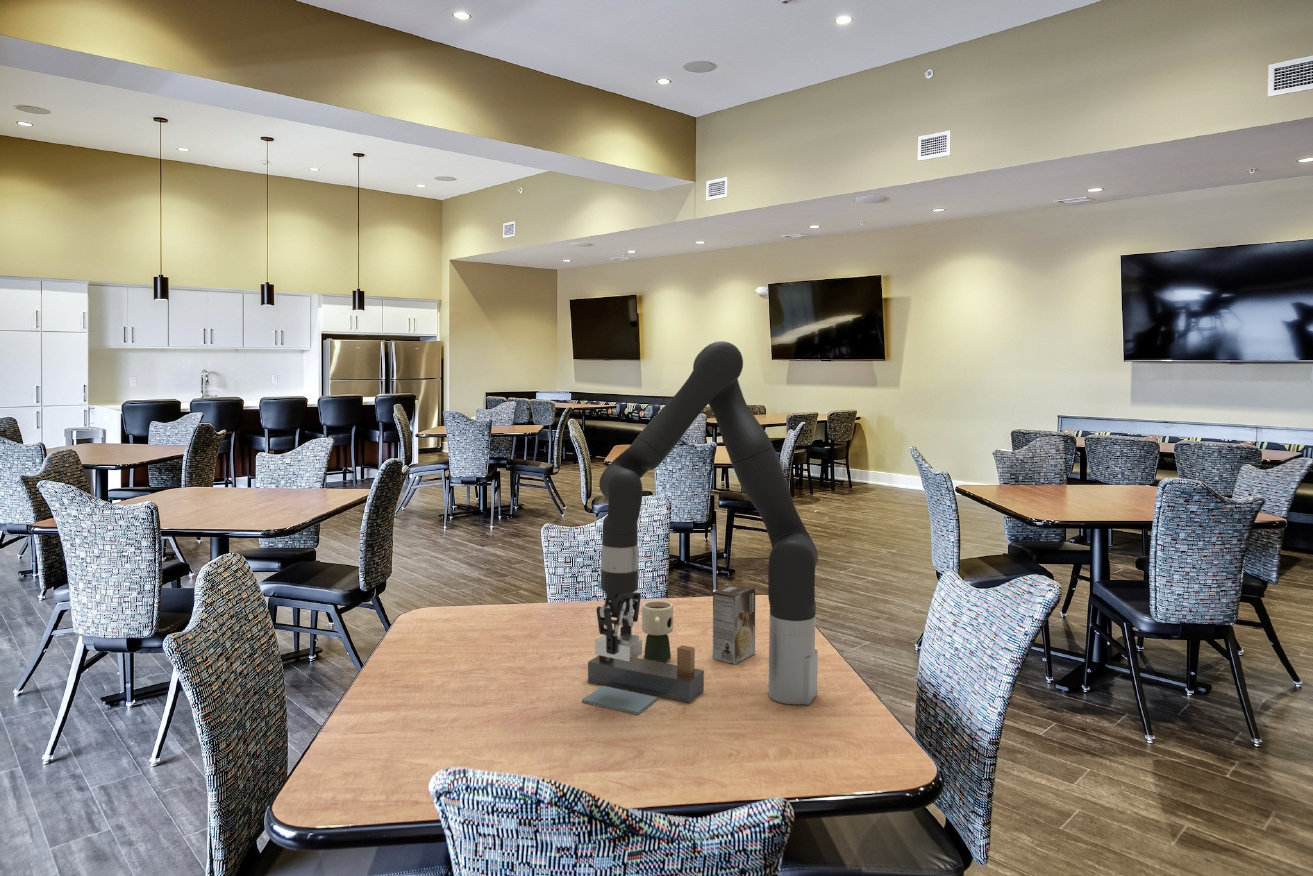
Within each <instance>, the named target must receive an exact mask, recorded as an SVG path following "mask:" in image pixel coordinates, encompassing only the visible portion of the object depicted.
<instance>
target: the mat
mask: <svg viewBox="0 0 1313 876" xmlns="http://www.w3.org/2000/svg"><path fill="white" fill-rule="evenodd" d="M657 701H658V697H656V696H651V695H646V694H642V693H637V692H632V691H627V690H623V689H618V688H613V687H608V686H604V685H600V687H598V688H597V689H595V690H594V691H592V692H591V693H589V694H587V695H586V696H585V697H583V698H582V699H581V703H582V702H585V703H584V704H587V703H591V704H595V705H594V706H596V705H599V706H598V707H600V706H602V707H601V708H605V709H606V708H607V709H609V710H615V711H618V712H619V711H620V712H623V713H628V714H632V715H636V716H639V715H641V714H642V713H643V712H645V711H646V710H648V708H649V707H651V706H652V705H653V704H655V703H656V702H657ZM591 704H590V705H591Z"/></svg>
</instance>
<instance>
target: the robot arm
mask: <svg viewBox="0 0 1313 876" xmlns="http://www.w3.org/2000/svg"><path fill="white" fill-rule="evenodd" d="M743 367H744V359H743V356H742V353H741V351H740V349H739V348H738V346H736V345H735V344H734V343H731V342H729V341H714V342H712V343H710V344H708V345H706V346H705V347H704V348H703V349H702V350H700V352H698V354H697V355H696V356H695V359H694V361H693V365H692V372H691V373H690V374H689V376H688V378H687V379H686V381H685V382H684V383H683V385H681V387H680V388H679V390H678V391H677V393H676V394H675V395H674V396H672V398H671V399H670V400H669V401H668V402H667V403H666V404H665V405H664V406H663V407H662V408H661V409H660V410H659V411H658V412H657V413H656V414H655V416H654V417H653V418H652V419H651V420H650V421H649V422H647V423H648V424H647V425H645V427H644V428H643V429H642V431H641V432H640V433H639V434H638V435H637V437H636V438H635V439H634V440H633V442H632V443H631V445H630V446H629V447H627V448H626V449H625V450H624V451H623V452H621V453H620V454H619V455H618V456H616V458H615V459H613V460H612V461H611V462H610V463H609V464H608V466H606V468H605V469H604V470H603V472H602V473H601V475H600V478H599V486H598V487H599V490H600V492H601V494H602V495H603V496H604V497H605V498H606V499H608V503H607V504H608V505H607V515H606V516H605V517H604V518H603V521H602V538H601V539H602V541H601V542H602V545H601V546H602V547H601V551H600V552H601V553H600V589H601V590H602V591H603V592H604V593H605V599H604V605H602V606H599V605H598V606H597V607H596V610H595V611H596V617H597V624H598V632H599V634H600V635H602V636H603V635H606V652H607V653H608V654H613V655H615V654H616V653H617V644H618V636H617V635H624V634H626V633H627V634H632V628H633V627H634V625H635V623H638V621H639V614H640V604H641V599H642V598H641V597H642V594H641V592H637V591H638V588H639V566H640V565H639V563H640V562H639V561H640V560H639V558H640V557H639V555H640V554H639V545H638V532H639V531H638V530H639V529H638V521H639V518H640V513H641V507H642V502H643V494H644V493H643V490H644V489H643V485H642V484H643V483H642V480H641V478H642V477H644V475H645V474H646V473H647V472H648V471H652V470H655V469H656V468H658V467H659V466H660V465H662V462H664V460H665V459H666V457H668V455H669V454H670V453H671V451H672V450H673V449H674V448H675V447H676V445H677V444H678V443H679V441H680V440H681V439H682V438H683V436H684V435H685V434H686V432H687V431H688V429H689V428H690V427H691V426H692V424H693V423H694V422H695V420H696V419H697V418H698V417H699V415H700V414H701V413H702V412H703V410H705V408H706V407H707V406H709V408H710V410H711V412H712V414H713V416H714V418H715V420H716V423H717V425H718V430H719V432H720V436H721V438H722V442H723V444H724V447H725V450H726V452H727V454H728V458H729V460H730V463H731V465H732V468H733V471H734V473H735V475H736V478H737V481H738V482H739V485H740V486H741V488H742V489H743V491H744V493H745V495H746V497H748V500H749V501H750V502H751V504H752V505H753V507H754V508H755V509H756V512H758V514H759V516H760V518H761V519H762V521H763V524H764V526H765V529H766V532H767V535H768V539H769V543H770V545H771V548H772V549H771V551H770V553H769V556H768V565H767V567H768V568H767V570H768V573H767V576H768V579H767V580H768V582H767V584H768V585H767V586H768V587H767V589H768V591H767V596H768V603H769V633H768V634H769V636H768V637H769V638H768V640H769V641H768V642H769V645H768V696H769V698H770V699H771V700H774V701H775V702H778V703H779V704H785V705H807V706H809V705H810V704H811V703H812V702H813V700H814V698H816V697H817V695H818V661H819V660H818V659H819V652H818V649H816V612H817V611H816V609H817V603H816V596H815V595H816V593H815V591H816V589H815V588H816V587H815V586H816V566H817V563H818V558H819V556H818V551H817V547H816V545H815V543H814V541H813V540H812V539H813V538H812V537H811V535H810V534H809V532H808V530H807V528H806V527H805V525H804V523H803V520H802V519H801V516H800V515H799V513H798V511H797V508H796V507H795V504H794V503H795V502H794V500H793V497H792V495H791V491H790V487H789V485H788V481H787V479H786V476H785V474H784V471H783V468H782V465H781V462H780V459H779V457H778V455H777V452H776V449H775V447H774V446H773V443H772V441H771V439H770V437H769V435H768V433H767V432H766V430H765V429H764V428H763V426H762V424H761V423H760V422H759V420H758V419H757V418H756V416H755V415H754V414H753V412H752V410H751V409H750V408H749V406H748V404H747V402H746V399H745V397H744V394H743V391H742V389H741V386H740V383H739V377H740V376H741V373H742V372H743ZM612 618H614V619H612ZM619 627H620V634H619Z"/></svg>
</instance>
